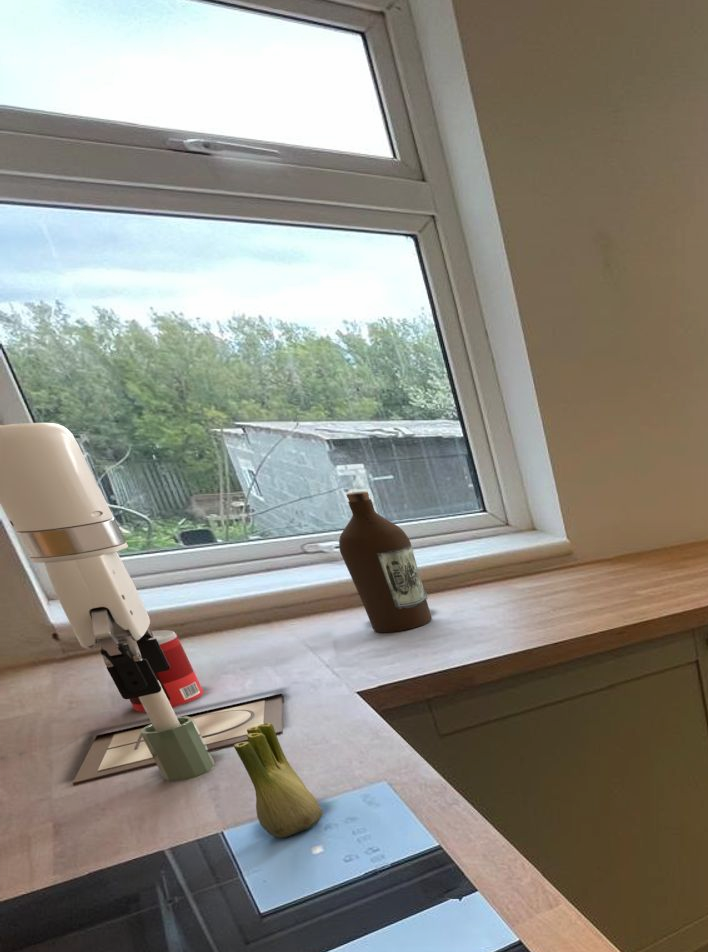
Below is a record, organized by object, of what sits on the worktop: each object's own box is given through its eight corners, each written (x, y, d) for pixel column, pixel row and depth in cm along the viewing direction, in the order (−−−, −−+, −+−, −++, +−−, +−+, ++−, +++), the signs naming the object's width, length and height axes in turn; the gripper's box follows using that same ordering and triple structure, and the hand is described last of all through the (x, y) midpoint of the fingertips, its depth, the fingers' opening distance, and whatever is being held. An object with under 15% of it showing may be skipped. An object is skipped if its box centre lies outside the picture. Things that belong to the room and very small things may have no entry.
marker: (177, 777, 99) (131, 688, 94) (179, 771, 101) (133, 683, 96) (201, 771, 100) (157, 682, 96) (202, 765, 102) (159, 677, 97)
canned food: (206, 692, 126) (174, 626, 122) (208, 706, 121) (175, 637, 117) (138, 708, 122) (102, 640, 117) (137, 723, 116) (100, 652, 112)
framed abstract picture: (75, 788, 99) (70, 781, 98) (99, 740, 112) (95, 733, 111) (284, 736, 110) (281, 729, 110) (283, 697, 123) (281, 691, 123)
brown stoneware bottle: (355, 633, 151) (304, 498, 141) (403, 615, 161) (358, 487, 151) (403, 634, 149) (354, 498, 139) (449, 616, 159) (406, 487, 149)
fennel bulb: (289, 846, 85) (241, 744, 80) (250, 843, 86) (201, 742, 81) (339, 815, 90) (297, 718, 85) (302, 813, 91) (259, 717, 86)
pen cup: (165, 788, 98) (138, 736, 95) (168, 774, 101) (142, 724, 98) (215, 775, 100) (190, 724, 98) (217, 762, 104) (193, 713, 101)
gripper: (42, 536, 93) (115, 673, 100) (5, 561, 81) (91, 715, 87) (132, 524, 97) (196, 656, 104) (110, 546, 85) (184, 694, 92)
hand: (148, 683), depth 96 cm, fingers open, 9 cm apart
